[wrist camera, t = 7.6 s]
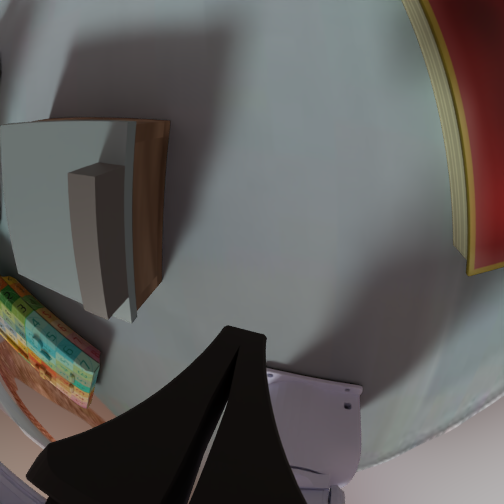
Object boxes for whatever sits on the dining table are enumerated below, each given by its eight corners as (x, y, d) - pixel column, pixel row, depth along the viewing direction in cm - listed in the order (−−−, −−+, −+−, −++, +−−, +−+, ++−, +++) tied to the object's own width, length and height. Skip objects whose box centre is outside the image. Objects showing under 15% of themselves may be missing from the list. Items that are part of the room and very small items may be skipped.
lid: (136, 121, 13) (96, 126, 10) (137, 316, 19) (113, 346, 16) (8, 123, 14) (-25, 132, 11) (24, 269, 20) (0, 287, 17)
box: (170, 120, 17) (136, 124, 13) (161, 281, 22) (137, 310, 19) (48, 118, 18) (12, 125, 15) (55, 246, 24) (27, 266, 20)
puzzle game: (83, 413, 30) (-15, 324, 29) (99, 390, 34) (4, 308, 33) (89, 378, 25) (-26, 269, 23) (111, 350, 29) (-1, 252, 27)
